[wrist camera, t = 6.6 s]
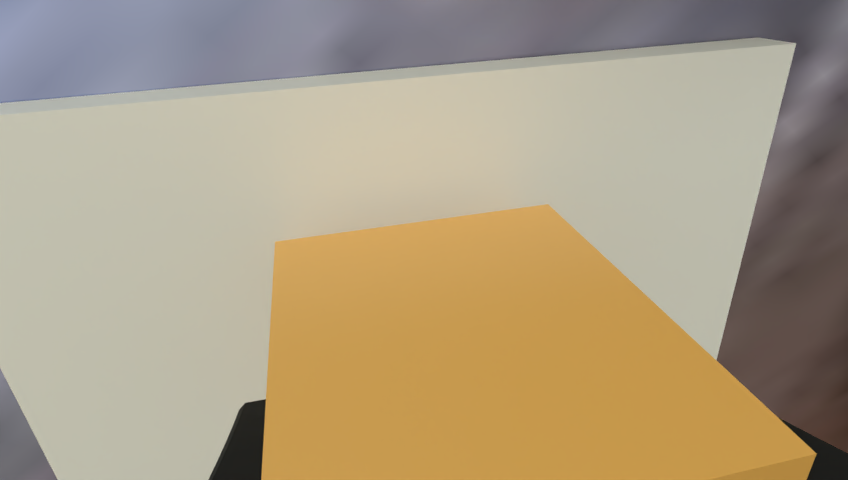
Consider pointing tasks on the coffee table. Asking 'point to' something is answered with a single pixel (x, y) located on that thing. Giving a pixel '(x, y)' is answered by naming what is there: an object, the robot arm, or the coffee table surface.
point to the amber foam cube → (495, 364)
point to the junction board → (340, 216)
